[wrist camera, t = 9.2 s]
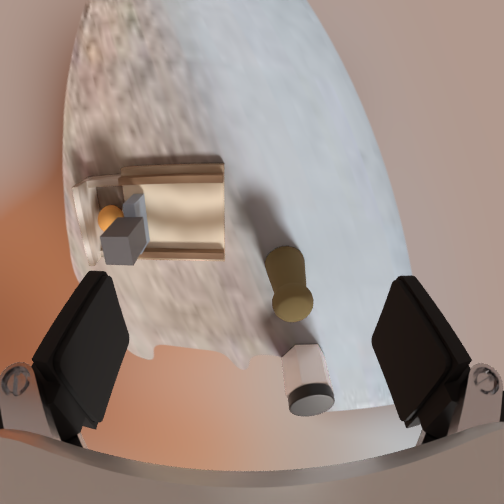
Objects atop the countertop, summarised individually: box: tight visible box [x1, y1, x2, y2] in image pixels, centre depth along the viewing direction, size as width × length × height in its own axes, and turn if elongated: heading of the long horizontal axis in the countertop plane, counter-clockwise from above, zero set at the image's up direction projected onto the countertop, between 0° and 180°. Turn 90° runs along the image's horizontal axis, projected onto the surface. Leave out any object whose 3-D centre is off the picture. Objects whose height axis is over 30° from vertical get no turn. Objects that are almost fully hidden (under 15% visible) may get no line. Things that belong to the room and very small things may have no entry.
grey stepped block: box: [100, 194, 150, 265], centre depth 34 cm, size 7×4×9 cm, turn 178°
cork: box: [265, 246, 313, 322], centre depth 39 cm, size 6×6×11 cm
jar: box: [281, 344, 335, 416], centre depth 50 cm, size 9×8×12 cm
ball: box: [98, 205, 124, 231], centre depth 38 cm, size 4×4×4 cm
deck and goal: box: [72, 163, 225, 266], centre depth 37 cm, size 14×20×5 cm
